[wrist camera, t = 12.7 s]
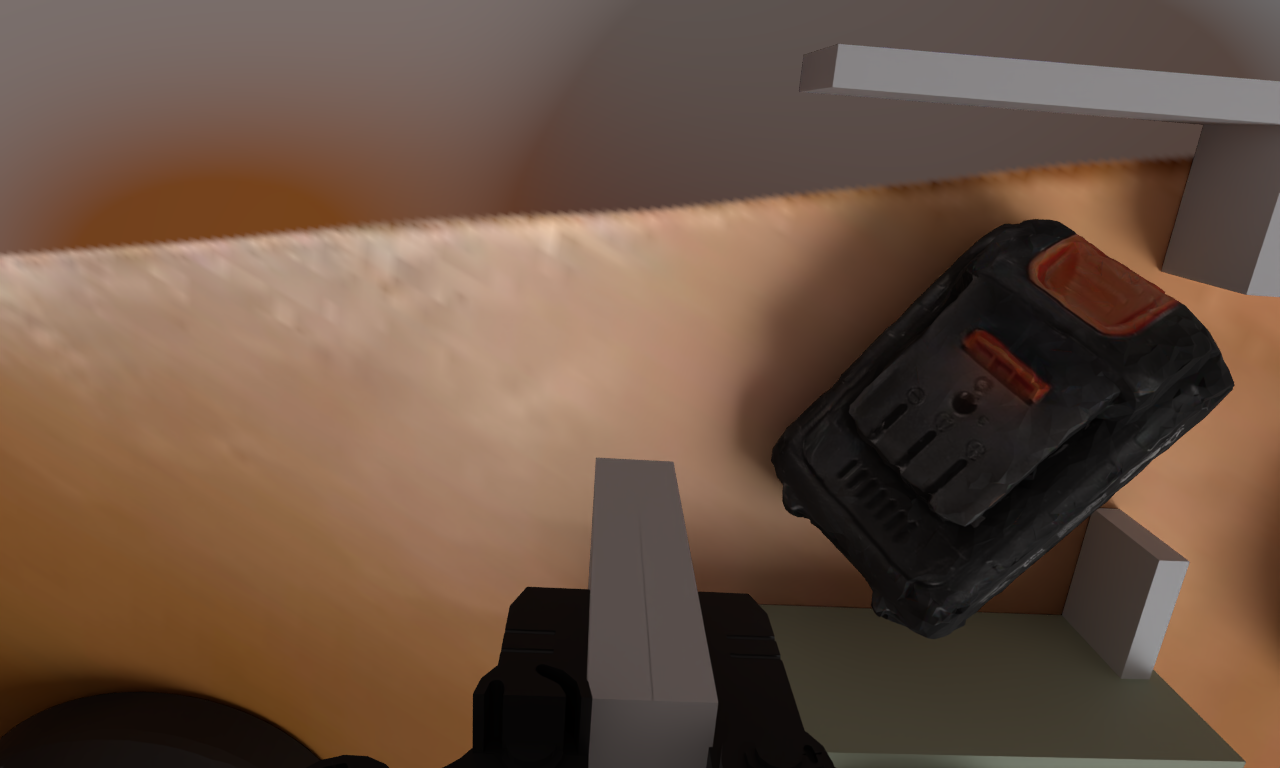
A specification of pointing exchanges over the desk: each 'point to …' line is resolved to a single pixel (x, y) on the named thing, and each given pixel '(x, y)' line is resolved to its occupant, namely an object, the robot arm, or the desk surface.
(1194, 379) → the battery
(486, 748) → the robot arm
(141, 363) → the desk surface
